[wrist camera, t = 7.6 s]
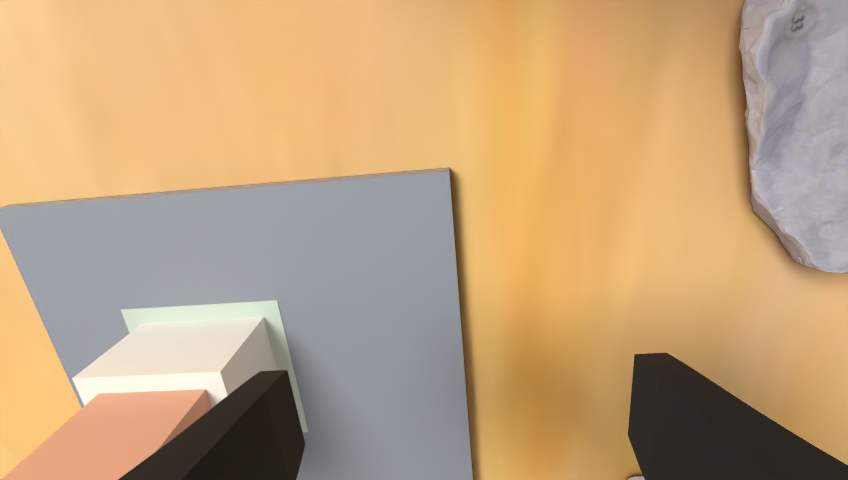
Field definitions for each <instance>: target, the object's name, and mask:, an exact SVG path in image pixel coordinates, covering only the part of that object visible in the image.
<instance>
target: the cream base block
mask: <svg viewBox="0 0 848 480" xmlns="http://www.w3.org/2000/svg"><path fill="white" fill-rule="evenodd" d="M275 370H277V367H276V363H275V359H274V355H273V351H272V347H271V343H270V339H269V335H268V331H267V327H266V323H265V319H264V317H253V318H235V319H218V320H200V321H182V322H165V323H147V324H141V325H140V326H138V327H137V328H136V329H135V330H133V331H132V332H131V333H130V334H128V335H127V336H126V337H124V338H123V339H122V340H121V341H119V342H118V343H117V344H115V345H114V346H113V347H112V348H110V349H109V350H108V351H107V352H105V353H104V354H103V355H101V356H100V357H99V358H98V359H96V360H95V361H94V362H92V363H91V364H90V365H89V366H87V367H86V368H85V369H84V370H82V371H81V372H80V373H78V374H77V375H76V376H75V377H73V378H72V379H73V382H74V384H75V386H76V388H77V391H78V393H79V395H80V397H81V399H82V402H83V404H84V406H85V405H86V404H87V403H89V402H90V401H91V400H92V399H93V398H94V397H95V396H96V395H98V394H99V393H124V392H148V391H173V390H198V389H206V391H207V394H208V397H209V400H210V403H211V407H212V408H213V407H214V406H215V405H216V404H218V403H219V402H220V401H222V400H223V399H224V398H225V397H227V396H228V395H229V394H230V393H232V392H233V391H234V390H235V389H237V388H238V387H239V386H241V385H242V384H243V383H245V382H246V381H247V380H248V379H250V378H251V377H253V376H254V375H256V374H257V373H258V372H260V371H275Z"/></svg>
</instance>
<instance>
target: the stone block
mask: <svg viewBox="0 0 848 480" xmlns="http://www.w3.org/2000/svg"><path fill="white" fill-rule="evenodd" d="M739 50H740V52H741V55H742V64H743V81H744V85H745V91H746V99H747V108H746V110H745V117H746V122H745V126H746V127H747V136H748V141H749V161H748V163H749V169H750V177H751V178H750V182H751V202H752V207H753V211H754V212H755V213H756V214H757V215H758V216H759V217H760V218H761V219H762V220H763V221H764V222H765V223H766V224H767V225H768V226H769V227H770V228H771V229H772V230H773V231H774V232H775V233H776V234H777V236H778V237H779V239H780V241H781V242H782V244H783V246H784V248H785V249H786V250H787V251H788V252H789V253H790V254H791V257H792V259H794V260H795V261H796V262H798V263H799V264H802V265H805V266H807V267H810V268H815V269H819V270H822V271H825V272H835V273H848V0H745V2H744V5H743V9H742V15H741V33H740V43H739Z"/></svg>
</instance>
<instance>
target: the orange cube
mask: <svg viewBox="0 0 848 480" xmlns="http://www.w3.org/2000/svg"><path fill="white" fill-rule="evenodd" d="M211 408H212V407H211V403H210V400H209V397H208V394H207V391H206V389H198V390H173V391H148V392H124V393H99V394H98V395H96V396H95V397H94V398H93V399H92V400H91V401H90V402H89V403H87V404H86V405H85V406H84V407H83V408H82V409H81V410H80V411H78V412H77V413H76V414H75V415H74V416H73V417H72V418H70V419H69V420H68V421H67V422H66V423H65V424H64V425H63V426H61V427H60V428H59V429H58V430H57V431H56V432H55V433H53V434H52V435H51V436H50V437H49V438H48V439H47V440H46V441H44V442H43V443H42V444H41V445H40V446H39V447H38V448H37V449H35V450H34V451H33V452H32V453H31V454H30V455H29V456H27V457H26V458H25V459H24V460H23V461H22V462H21V463H20V464H18V465H17V466H16V467H15V468H14V469H13V470H12V471H11V472H9V473H8V474H7V475H6V476H5V477H4V478H3V479H1V480H118V479H119V478H121V477H122V476H123V475H125V474H126V473H128V472H129V471H130V470H132V469H133V468H134V467H136V466H137V465H138V464H140V463H141V462H142V461H144V460H145V459H147V458H148V457H149V456H151V455H152V454H153V453H155V452H156V451H157V450H159V449H160V448H161V447H163V446H164V445H165V444H167V443H168V442H169V441H171V440H172V439H173V438H175V437H176V436H177V435H178V434H180V433H181V432H182V431H184V430H185V429H186V428H187V427H189V426H190V425H191V424H192V423H194V422H195V421H196V420H198V419H199V418H200V417H201V416H203V415H204V414H205V413H206V412H208V411H209V410H210V409H211Z"/></svg>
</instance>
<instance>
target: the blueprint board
mask: <svg viewBox="0 0 848 480" xmlns="http://www.w3.org/2000/svg"><path fill="white" fill-rule="evenodd" d="M0 229H1V231H2V233H3V235H4V238H5V240H6V242H7V244H8V246H9V249H10V251H11V253H12V255H13V257H14V260H15V262H16V264H17V266H18V269H19V271H20V273H21V275H22V277H23V280H24V282H25V284H26V286H27V288H28V291H29V293H30V295H31V297H32V299H33V302H34V304H35V306H36V308H37V310H38V313H39V315H40V317H41V319H42V321H43V324H44V326H45V328H46V330H47V332H48V335H49V337H50V339H51V341H52V343H53V346H54V348H55V350H56V352H57V354H58V357H59V359H60V361H61V363H62V365H63V368H64V370H65V372H66V374H67V376H68V379H69V381H70V383H71V385H72V387H73V390H74V392H75V394H76V396H77V398H78V401H79V403H80V405H81V407H82V408H83V407H84V404H83V402H82V399H81V397H80V395H79V393H78V391H77V388H76V386H75V384H74V382H73V379H72V378H73V377H75V376H76V375H77V374H78V373H80V372H81V371H82V370H84V369H85V368H86V367H87V366H89V365H90V364H91V363H92V362H94V361H95V360H96V359H98V358H99V357H100V356H101V355H103V354H104V353H105V352H107V351H108V350H109V349H110V348H112V347H113V346H114V345H115V344H117V343H118V342H119V341H121V340H122V339H123V338H124V337H126V336H127V335H128V334H130V333H131V332H132V331H133V330H135V329H136V328H137V327H138V326H140V325H141V324H147V323H165V322H182V321H200V320H218V319H235V318H253V317H264V319H265V323H266V327H267V331H268V335H269V339H270V343H271V347H272V351H273V355H274V359H275V363H276V367H277V370H288V374H289V379H290V383H291V387H292V391H293V395H294V399H295V403H296V407H297V411H298V416H299V420H300V424H301V428H302V432H303V436H304V440H305V448H304V452H303V456H302V460H301V464H300V468H299V472H298V475H297V479H296V480H473V473H472V460H471V447H470V434H469V420H468V407H467V394H466V381H465V368H464V355H463V342H462V329H461V316H460V302H459V289H458V276H457V263H456V250H455V237H454V224H453V211H452V197H451V184H450V171H449V168H439V169H427V170H415V171H404V172H392V173H380V174H368V175H356V176H345V177H333V178H321V179H309V180H297V181H286V182H274V183H262V184H250V185H238V186H227V187H215V188H203V189H191V190H179V191H168V192H156V193H144V194H132V195H120V196H109V197H97V198H85V199H73V200H61V201H50V202H38V203H26V204H14V205H7V206H4V207H0Z"/></svg>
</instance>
